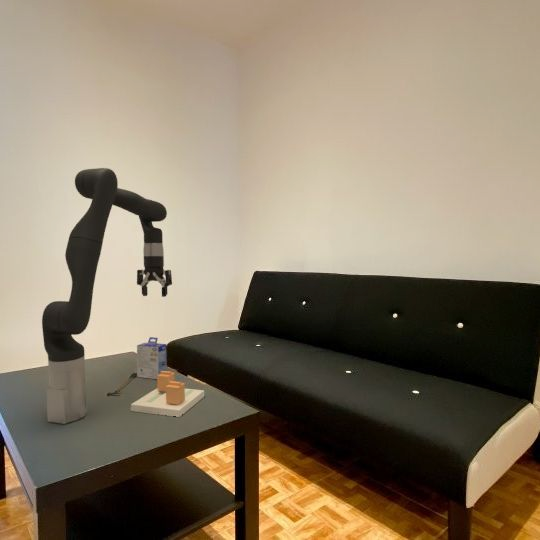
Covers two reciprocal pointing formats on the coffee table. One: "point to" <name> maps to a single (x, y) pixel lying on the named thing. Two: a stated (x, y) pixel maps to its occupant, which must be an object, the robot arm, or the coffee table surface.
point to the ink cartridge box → (151, 359)
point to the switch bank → (158, 405)
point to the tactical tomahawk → (122, 385)
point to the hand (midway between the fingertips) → (154, 296)
